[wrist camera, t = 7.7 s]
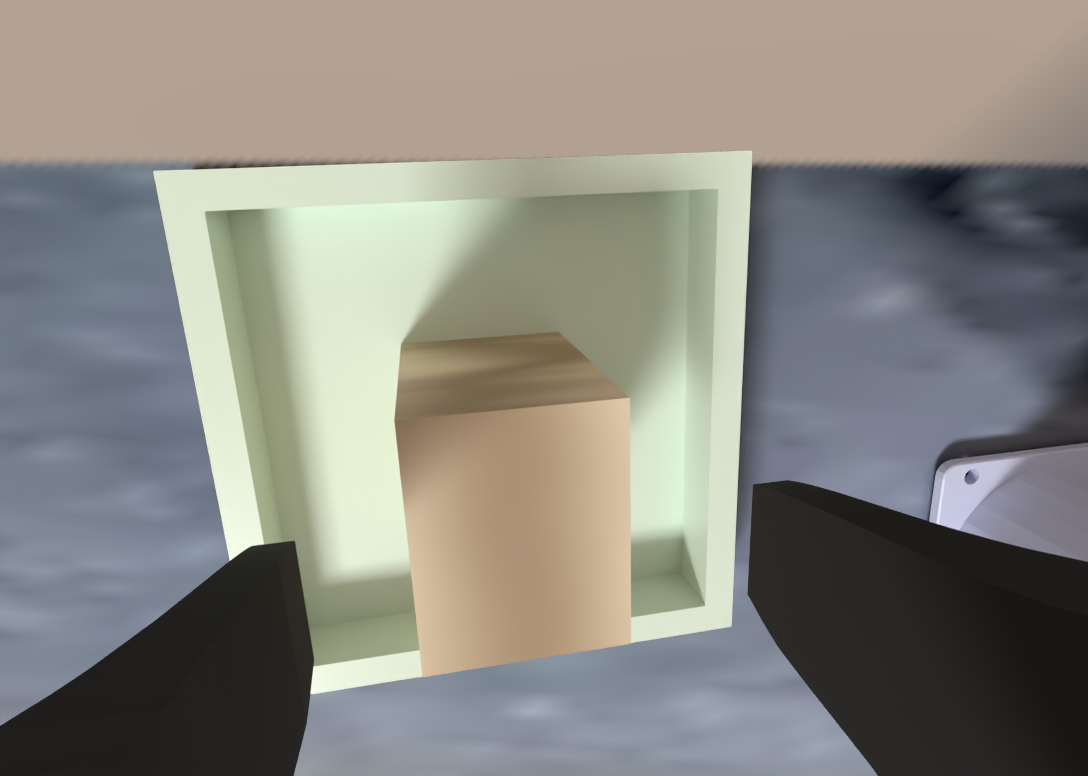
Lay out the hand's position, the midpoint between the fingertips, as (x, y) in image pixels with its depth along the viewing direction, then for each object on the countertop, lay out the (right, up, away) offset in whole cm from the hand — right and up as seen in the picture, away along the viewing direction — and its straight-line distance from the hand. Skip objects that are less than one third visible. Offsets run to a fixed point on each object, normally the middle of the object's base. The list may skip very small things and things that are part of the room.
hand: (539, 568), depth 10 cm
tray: (-2, +2, +8) cm, 8 cm away
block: (-1, +2, +7) cm, 8 cm away
